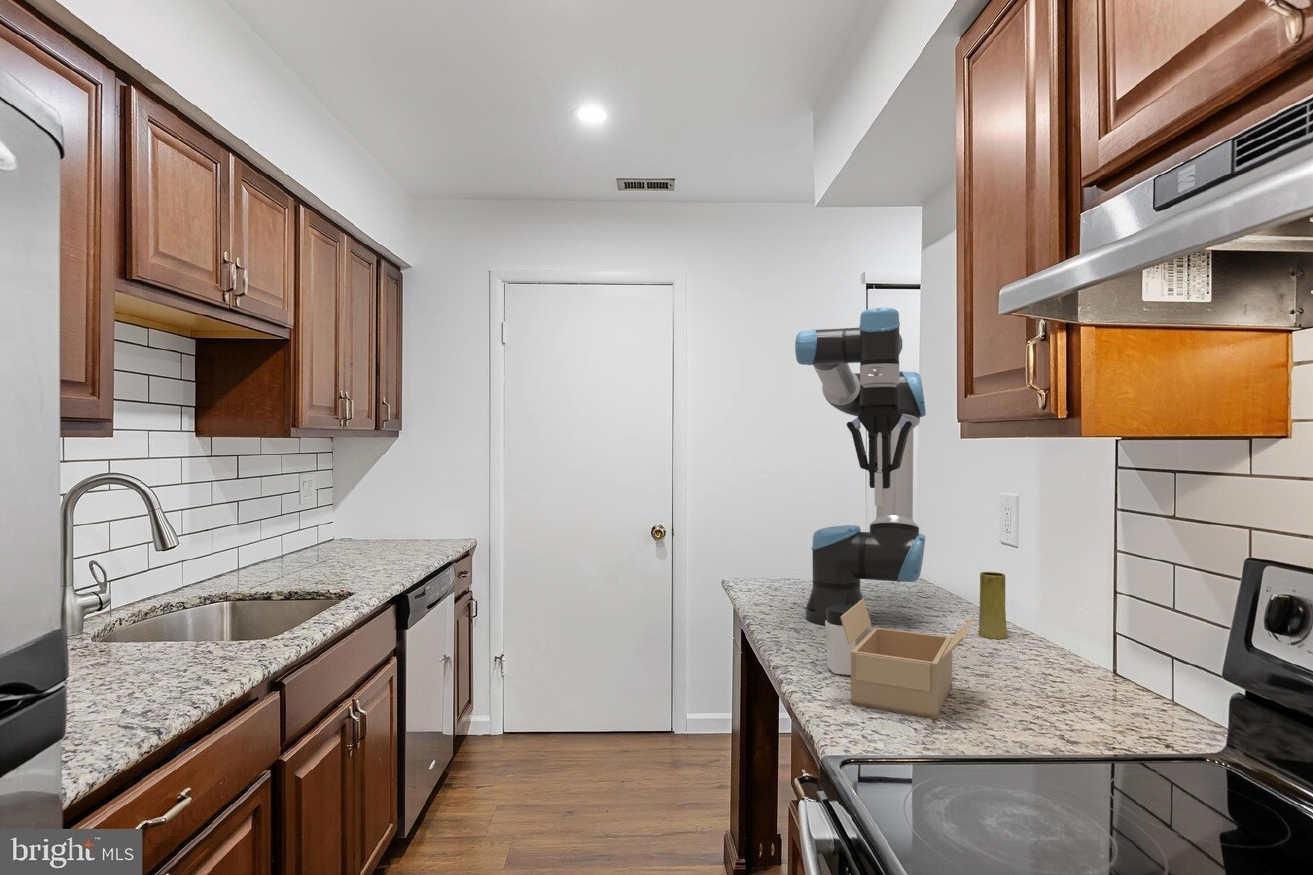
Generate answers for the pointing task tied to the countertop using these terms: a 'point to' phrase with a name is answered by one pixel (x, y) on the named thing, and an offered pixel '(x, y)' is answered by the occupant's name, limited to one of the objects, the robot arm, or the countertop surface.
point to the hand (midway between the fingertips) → (880, 504)
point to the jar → (839, 640)
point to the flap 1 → (855, 621)
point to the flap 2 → (958, 637)
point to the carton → (901, 672)
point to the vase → (992, 606)
